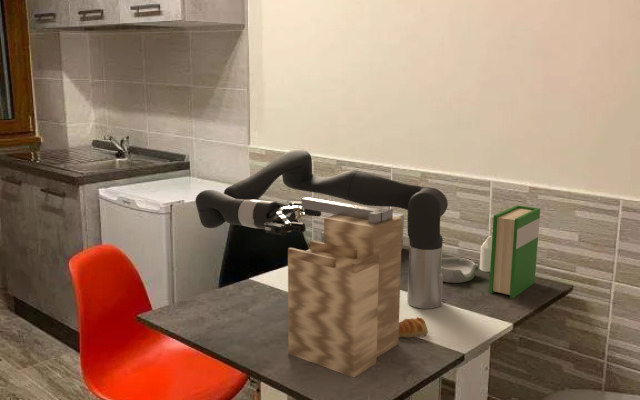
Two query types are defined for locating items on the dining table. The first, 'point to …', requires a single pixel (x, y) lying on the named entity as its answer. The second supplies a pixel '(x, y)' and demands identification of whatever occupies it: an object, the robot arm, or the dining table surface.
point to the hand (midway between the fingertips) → (312, 219)
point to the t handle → (348, 210)
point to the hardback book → (514, 250)
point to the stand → (346, 294)
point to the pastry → (412, 328)
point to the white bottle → (486, 255)
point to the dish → (458, 270)
